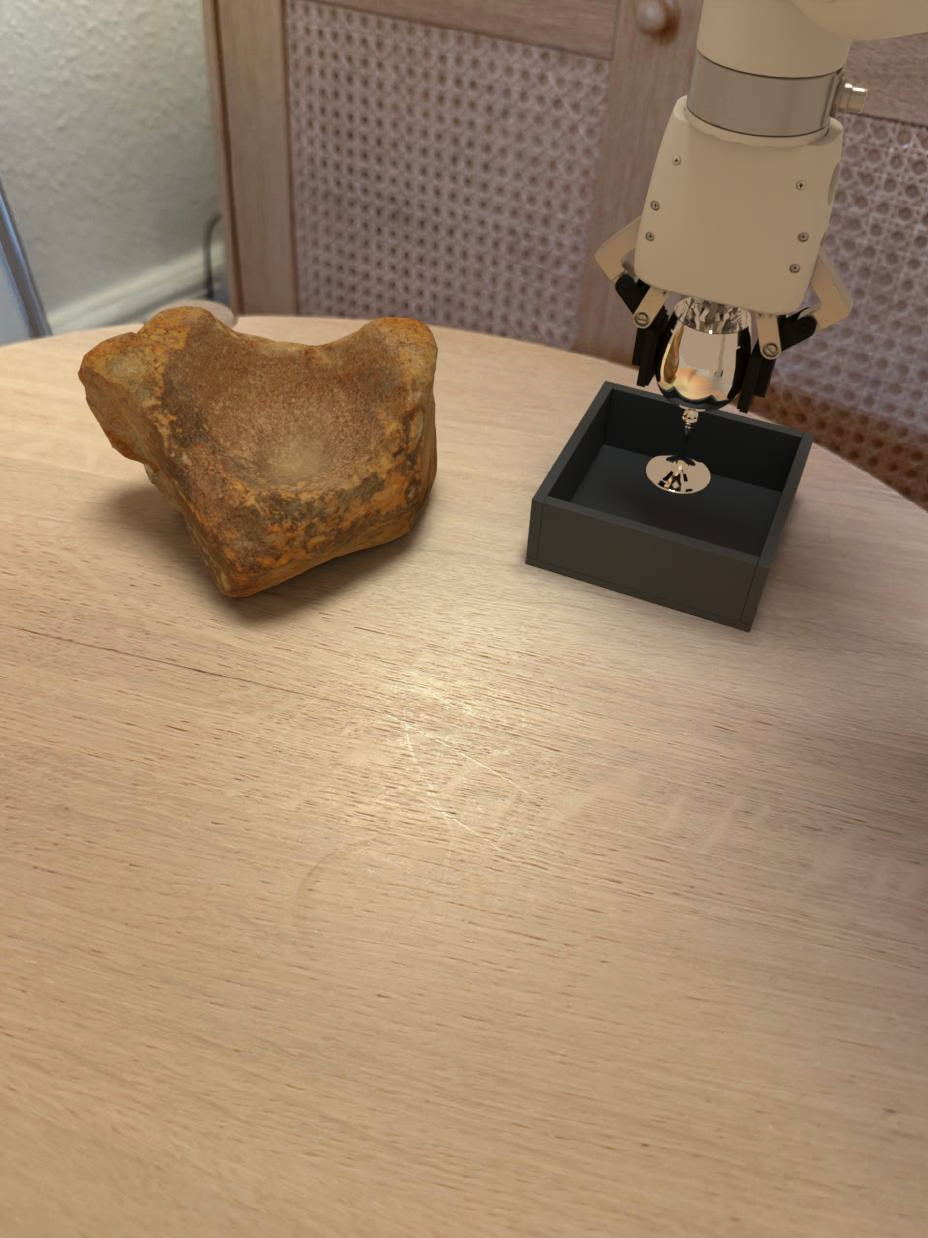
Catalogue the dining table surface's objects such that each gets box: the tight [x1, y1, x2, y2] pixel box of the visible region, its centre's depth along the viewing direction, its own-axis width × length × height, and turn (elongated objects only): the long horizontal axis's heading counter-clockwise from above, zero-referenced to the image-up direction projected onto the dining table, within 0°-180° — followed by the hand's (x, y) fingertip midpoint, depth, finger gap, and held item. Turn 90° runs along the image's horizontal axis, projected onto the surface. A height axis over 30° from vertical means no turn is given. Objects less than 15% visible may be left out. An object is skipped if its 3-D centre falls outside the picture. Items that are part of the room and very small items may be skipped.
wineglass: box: [645, 296, 753, 494], centre depth 69 cm, size 6×6×12 cm
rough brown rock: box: [77, 305, 439, 598], centre depth 70 cm, size 23×17×15 cm
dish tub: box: [525, 380, 816, 633], centre depth 75 cm, size 16×16×6 cm
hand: (697, 386), depth 69 cm, fingers closed on wineglass, 5 cm apart
